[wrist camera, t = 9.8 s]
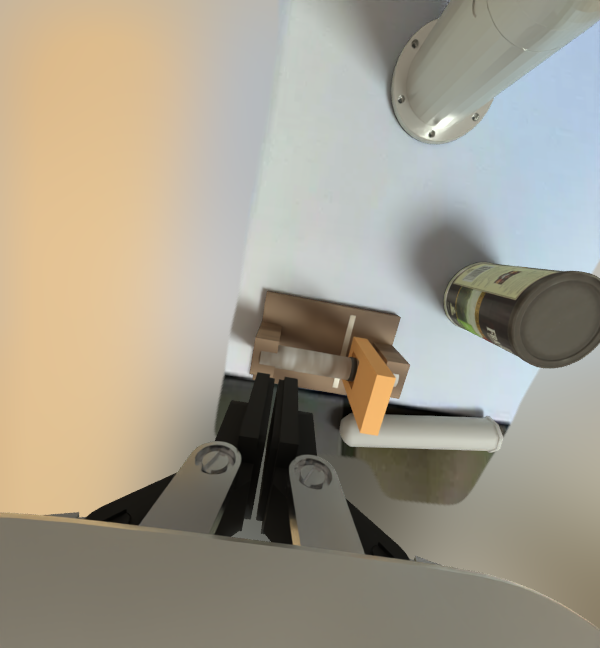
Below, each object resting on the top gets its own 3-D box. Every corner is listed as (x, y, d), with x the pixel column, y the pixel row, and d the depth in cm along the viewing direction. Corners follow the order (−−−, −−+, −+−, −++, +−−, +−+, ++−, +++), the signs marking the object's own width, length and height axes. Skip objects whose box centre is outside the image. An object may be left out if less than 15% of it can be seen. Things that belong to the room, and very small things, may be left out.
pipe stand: (267, 290, 41) (260, 303, 33) (397, 315, 43) (422, 332, 35) (253, 375, 45) (244, 405, 37) (373, 396, 47) (390, 429, 38)
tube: (339, 453, 45) (493, 458, 46) (343, 434, 42) (508, 439, 43) (336, 425, 50) (476, 429, 50) (339, 405, 47) (489, 410, 47)
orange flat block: (353, 336, 40) (377, 374, 28) (367, 338, 40) (396, 378, 29) (342, 380, 42) (359, 433, 30) (355, 382, 42) (377, 435, 30)
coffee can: (482, 340, 44) (564, 384, 31) (429, 309, 43) (491, 341, 29) (526, 283, 42) (637, 303, 28) (472, 248, 40) (562, 251, 27)
